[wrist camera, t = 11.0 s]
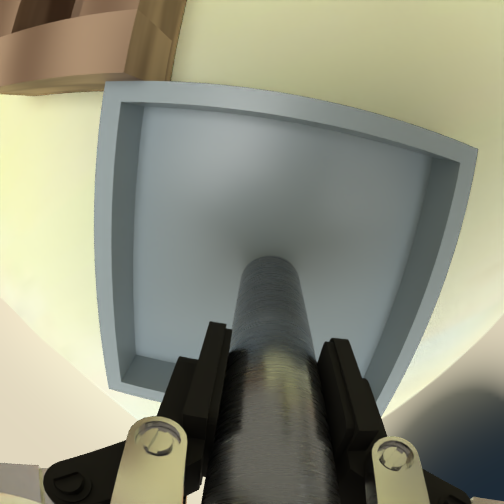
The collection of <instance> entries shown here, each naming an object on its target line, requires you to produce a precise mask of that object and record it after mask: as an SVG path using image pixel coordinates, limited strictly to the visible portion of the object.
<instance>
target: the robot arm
mask: <svg viewBox="0 0 504 504" xmlns="http://www.w3.org/2000/svg"><path fill="white" fill-rule="evenodd" d="M226 325H227V324H224V323H218V322H212V321H210V322H209V325H208V328H207V332H206V335H205V338H204V342H203V345H202V349H201V352H200V355H199V359H192V358H187V357H182V356H179V357H178V360H177V362H176V365H175V367H174V370H173V373H172V375H171V378H170V381H169V384H168V386H167V389H166V392H165V395H164V397H163V400H162V403H161V406H160V408H159V411H158V414H157V416H152V417H146V418H143V419H141V420H139V421H137V422H136V423H135V424H134V425H132V427H131V429H130V430H129V433H128V436H127V439H126V440H125V441H122V442H119V443H117V444H114V445H111V446H108V447H105V448H102V449H99V450H96V451H93V452H90V453H87V454H84V455H80V456H77V457H74V458H70V459H67V460H63V461H60V462H57V463H55V464H53V465H52V466H51V467H49V468H40V467H39V465H22V464H8V463H0V504H186V503H187V495H189V494H191V493H193V492H195V491H197V490H199V488H200V485H201V484H202V478H203V477H206V473H207V467H208V461H209V455H210V451H211V449H212V448H213V446H214V441H215V434H216V428H217V422H218V416H219V410H220V404H221V398H222V392H223V386H224V381H225V375H226V369H227V363H228V357H229V351H230V344H231V337H232V329H227V328H226ZM317 366H318V371H319V376H320V381H321V387H322V392H323V398H324V403H325V409H326V414H327V420H328V426H329V432H330V437H331V443H332V449H333V456H334V462H335V468H336V475H337V481H338V488H339V495H340V502H341V504H504V501H496V500H489V499H483V498H477V497H473V498H472V499H470V498H469V497H468V496H467V494H466V493H465V492H463V491H462V490H460V489H458V488H456V487H454V486H452V485H451V484H449V483H447V482H445V481H443V480H441V479H439V478H438V477H436V476H434V475H433V474H431V473H429V472H427V471H425V470H424V469H422V468H421V463H420V459H419V455H418V453H417V451H416V449H415V447H414V446H413V445H412V444H411V443H409V442H408V441H407V440H405V439H402V438H400V437H394V436H390V437H387V434H386V431H385V429H384V425H383V422H382V419H381V416H380V413H379V410H378V407H377V404H376V401H375V398H374V396H373V393H372V390H371V387H370V384H369V382H368V380H367V379H366V378H362V376H361V373H360V370H359V367H358V364H357V362H356V359H355V356H354V353H353V350H352V347H351V345H350V342H349V340H348V339H341V338H331V339H330V341H329V342H327V341H325V342H324V344H323V347H322V350H321V353H320V356H319V359H318V362H317Z"/></svg>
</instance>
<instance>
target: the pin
mask: <svg viewBox="0 0 504 504" xmlns="http://www.w3.org/2000/svg"><path fill="white" fill-rule="evenodd" d="M201 504H341V502H340V495H339V488H338V481H337V475H336V468H335V462H334V456H333V449H332V443H331V437H330V432H329V426H328V420H327V414H326V409H325V403H324V398H323V392H322V387H321V381H320V376H319V371H318V366H317V361H316V356H315V350H314V345H313V341H312V336H311V331H310V326H309V321H308V316H307V311H306V307H305V302H304V297H303V293H302V288H301V284H300V279H299V275H298V272H297V270H296V269H295V267H294V266H293V265H292V264H291V263H290V262H289V261H287V260H285V259H283V258H281V257H278V256H263V257H259V258H257V259H255V260H253V261H252V262H250V263H249V264H248V265H247V266H246V267H245V269H244V271H243V272H242V275H241V279H240V285H239V290H238V296H237V302H236V307H235V313H234V318H233V324H232V337H231V344H230V351H229V357H228V363H227V369H226V375H225V381H224V386H223V392H222V398H221V404H220V410H219V416H218V422H217V428H216V434H215V441H214V446H213V448H212V449H211V451H210V455H209V461H208V467H207V473H206V479H205V484H204V490H203V496H202V503H201Z"/></svg>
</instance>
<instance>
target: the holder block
mask: <svg viewBox="0 0 504 504" xmlns="http://www.w3.org/2000/svg"><path fill="white" fill-rule="evenodd" d="M186 1H187V0H0V94H9V95H25V96H39V95H48V94H59V93H72V92H90V91H104V87H105V81H170V80H171V74H172V68H173V63H174V57H175V52H176V47H177V42H178V37H179V32H180V27H181V23H182V18H183V14H184V9H185V5H186Z"/></svg>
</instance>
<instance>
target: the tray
mask: <svg viewBox="0 0 504 504" xmlns="http://www.w3.org/2000/svg"><path fill="white" fill-rule="evenodd" d="M477 153H478V149H477V148H474V147H472V146H470V145H467V144H465V143H462V142H460V141H457V140H455V139H452V138H449V137H447V136H444V135H441V134H439V133H436V132H433V131H430V130H427V129H425V128H422V127H419V126H416V125H413V124H410V123H406V122H403V121H400V120H397V119H394V118H390V117H387V116H383V115H380V114H376V113H373V112H369V111H365V110H361V109H358V108H354V107H349V106H345V105H341V104H337V103H332V102H328V101H323V100H318V99H314V98H309V97H303V96H298V95H292V94H287V93H281V92H274V91H268V90H261V89H254V88H246V87H237V86H228V85H218V84H206V83H192V82H173V81H105V87H104V94H103V101H102V108H101V116H100V125H99V135H98V145H97V158H96V174H95V199H94V249H95V273H96V290H97V302H98V313H99V323H100V332H101V340H102V348H103V355H104V362H105V368H106V374H107V380H108V386H109V389H112V390H115V391H119V392H123V393H126V394H130V395H134V396H137V397H141V398H145V399H149V400H154V401H158V402H162V400H163V397H164V395H165V392H166V389H167V386H168V384H169V381H170V378H171V375H172V373H173V370H174V367H175V365H176V362H177V360H178V357H179V356H182V357H187V358H192V359H199V355H200V352H201V349H202V345H203V342H204V338H205V335H206V332H207V328H208V325H209V322H210V321H212V322H218V323H224V324H227V325H226V328H227V329H232V324H233V318H234V313H235V307H236V302H237V296H238V290H239V285H240V279H241V275H242V272H243V271H244V269H245V267H246V266H247V265H248V264H249V263H250V262H252V261H253V260H255V259H257V258H259V257H263V256H278V257H281V258H283V259H285V260H287V261H289V262H290V263H291V264H292V265H293V266H294V267H295V269H296V270H297V272H298V275H299V279H300V284H301V288H302V293H303V297H304V302H305V307H306V311H307V316H308V321H309V326H310V331H311V336H312V341H313V345H314V350H315V356H316V361H317V362H318V359H319V356H320V353H321V350H322V347H323V344H324V342H325V341H327V342H329V341H330V339H331V338H341V339H348V340H349V342H350V345H351V347H352V350H353V353H354V356H355V359H356V362H357V364H358V367H359V370H360V373H361V376H362V378H366V379H367V380H368V382H369V384H370V387H371V390H372V393H373V396H374V398H375V401H376V404H377V407H378V410H379V413H380V416H382V414H383V413H384V411H385V409H386V408H387V406H388V404H389V402H390V400H391V399H392V397H393V395H394V393H395V391H396V389H397V388H398V386H399V384H400V382H401V380H402V378H403V376H404V374H405V372H406V370H407V368H408V366H409V364H410V362H411V360H412V358H413V356H414V354H415V352H416V349H417V347H418V345H419V343H420V341H421V338H422V336H423V334H424V332H425V329H426V327H427V325H428V322H429V320H430V317H431V315H432V313H433V310H434V308H435V305H436V302H437V300H438V297H439V295H440V292H441V289H442V286H443V284H444V281H445V278H446V275H447V272H448V269H449V266H450V263H451V260H452V257H453V254H454V251H455V247H456V244H457V241H458V237H459V234H460V230H461V227H462V223H463V219H464V215H465V211H466V207H467V203H468V199H469V194H470V190H471V185H472V180H473V176H474V170H475V165H476V159H477Z"/></svg>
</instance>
